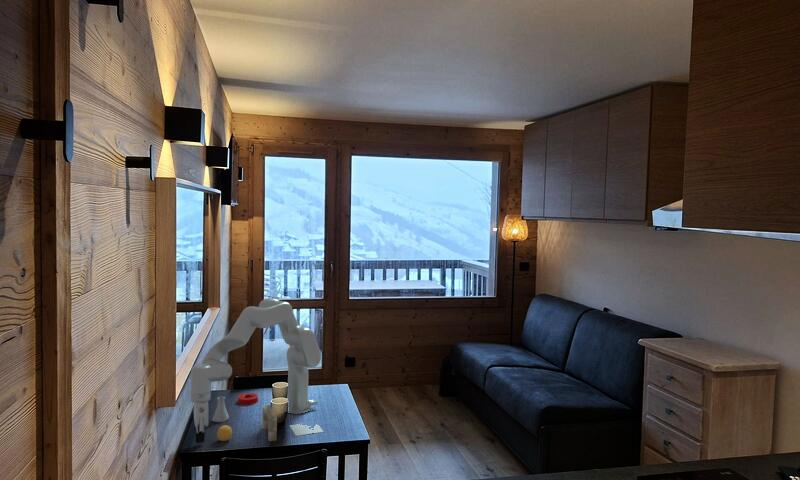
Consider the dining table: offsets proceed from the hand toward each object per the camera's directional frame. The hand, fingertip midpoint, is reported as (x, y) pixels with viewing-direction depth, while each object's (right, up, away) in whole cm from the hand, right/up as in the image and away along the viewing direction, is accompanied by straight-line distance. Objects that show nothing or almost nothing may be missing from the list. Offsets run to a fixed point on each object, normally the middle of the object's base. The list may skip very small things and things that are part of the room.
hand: (199, 441), depth 207 cm
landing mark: (+39, -2, +19) cm, 44 cm away
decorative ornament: (+4, -1, +52) cm, 52 cm away
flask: (-1, -1, +27) cm, 27 cm away
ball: (+8, +2, +5) cm, 10 cm away
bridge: (+24, -2, +13) cm, 28 cm away
